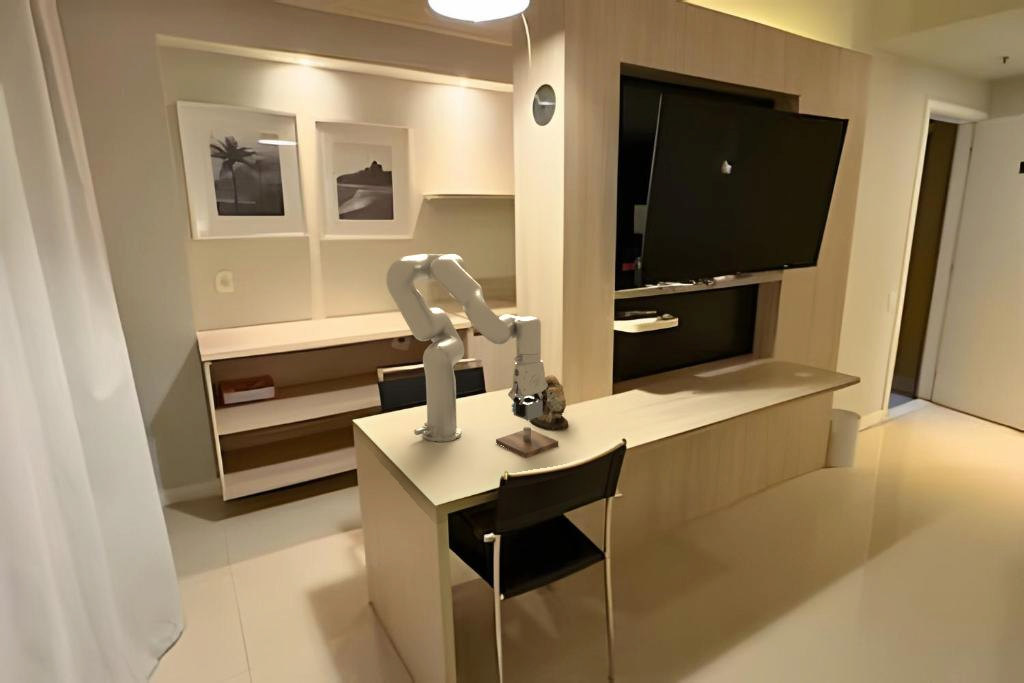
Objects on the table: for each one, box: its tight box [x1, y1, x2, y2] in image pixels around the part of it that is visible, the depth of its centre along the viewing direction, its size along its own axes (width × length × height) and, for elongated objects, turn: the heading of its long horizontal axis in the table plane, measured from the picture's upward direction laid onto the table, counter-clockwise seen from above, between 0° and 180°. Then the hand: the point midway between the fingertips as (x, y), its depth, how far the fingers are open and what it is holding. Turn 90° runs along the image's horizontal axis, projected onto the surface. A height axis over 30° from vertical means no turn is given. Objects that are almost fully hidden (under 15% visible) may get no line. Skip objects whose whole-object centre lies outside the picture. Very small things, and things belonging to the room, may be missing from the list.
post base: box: [495, 426, 559, 459], centre depth 175 cm, size 14×14×6 cm
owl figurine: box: [529, 374, 569, 431], centre depth 194 cm, size 18×12×17 cm, turn 34°
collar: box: [513, 396, 543, 421], centre depth 173 cm, size 6×6×5 cm
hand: (528, 412), depth 173 cm, fingers closed on collar, 6 cm apart
